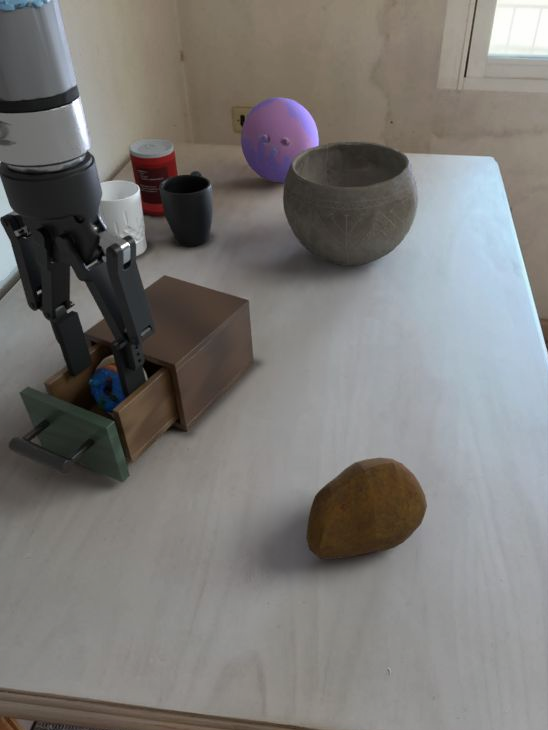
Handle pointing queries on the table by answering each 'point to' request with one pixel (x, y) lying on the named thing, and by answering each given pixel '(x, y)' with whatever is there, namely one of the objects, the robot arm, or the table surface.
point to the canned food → (152, 171)
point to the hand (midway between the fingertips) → (107, 378)
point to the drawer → (95, 421)
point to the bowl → (350, 200)
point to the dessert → (107, 385)
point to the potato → (365, 510)
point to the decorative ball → (276, 137)
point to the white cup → (123, 211)
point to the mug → (188, 207)
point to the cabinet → (193, 342)
